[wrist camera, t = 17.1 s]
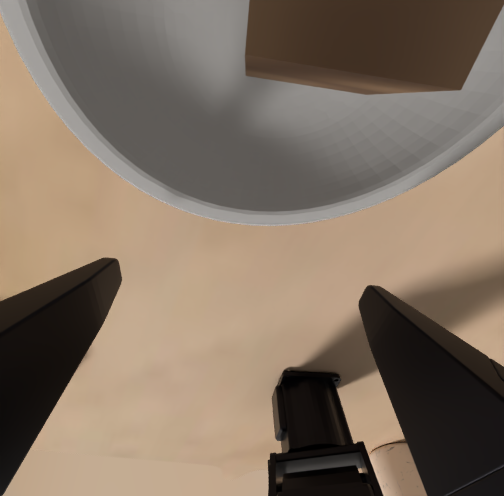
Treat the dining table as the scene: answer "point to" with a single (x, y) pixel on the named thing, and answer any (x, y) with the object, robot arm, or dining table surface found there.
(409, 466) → the teacup with lid
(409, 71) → the walnut block
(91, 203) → the dining table surface
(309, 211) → the dish
